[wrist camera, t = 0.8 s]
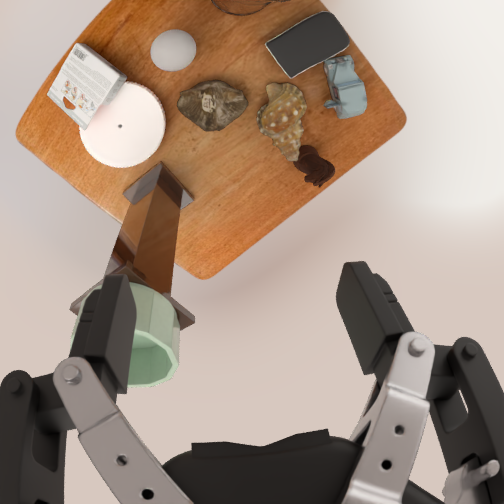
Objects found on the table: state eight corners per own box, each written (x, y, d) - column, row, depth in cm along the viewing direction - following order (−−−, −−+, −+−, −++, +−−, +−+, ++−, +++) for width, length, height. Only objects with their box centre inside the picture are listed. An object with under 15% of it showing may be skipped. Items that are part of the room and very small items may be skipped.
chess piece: (287, 153, 53) (302, 177, 45) (313, 139, 51) (333, 160, 44) (299, 174, 55) (316, 201, 47) (324, 160, 54) (345, 185, 46)
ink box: (129, 77, 38) (94, 130, 42) (85, 43, 36) (55, 93, 40) (120, 76, 36) (85, 132, 40) (75, 41, 34) (45, 94, 38)
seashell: (308, 110, 51) (325, 154, 47) (264, 126, 53) (275, 170, 50) (293, 72, 43) (312, 114, 39) (244, 90, 45) (254, 134, 41)
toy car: (345, 54, 43) (357, 56, 39) (357, 109, 49) (370, 117, 45) (308, 62, 43) (317, 65, 39) (322, 118, 49) (333, 126, 45)
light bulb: (157, 67, 41) (144, 73, 33) (160, 31, 38) (149, 28, 30) (195, 68, 42) (192, 74, 34) (200, 32, 39) (198, 29, 31)
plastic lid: (137, 176, 51) (134, 183, 49) (70, 136, 45) (65, 141, 43) (184, 109, 46) (182, 113, 44) (112, 64, 39) (107, 66, 37)
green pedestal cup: (117, 191, 53) (52, 350, 26) (161, 154, 50) (114, 307, 23) (156, 230, 59) (129, 395, 32) (200, 198, 56) (199, 367, 29)
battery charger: (288, 78, 45) (348, 45, 41) (290, 80, 42) (355, 44, 38) (262, 43, 42) (324, 9, 38) (262, 43, 38) (329, 6, 34)
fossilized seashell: (255, 84, 43) (190, 66, 41) (245, 111, 40) (173, 91, 38) (243, 118, 49) (184, 101, 48) (233, 146, 47) (170, 128, 45)
